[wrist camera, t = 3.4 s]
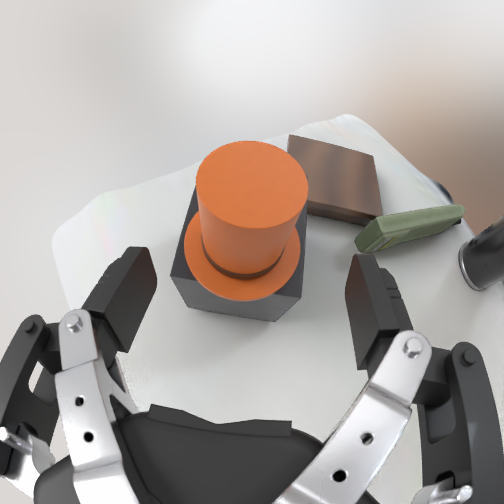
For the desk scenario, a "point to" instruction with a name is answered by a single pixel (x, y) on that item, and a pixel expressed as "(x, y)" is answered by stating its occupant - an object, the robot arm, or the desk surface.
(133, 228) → the desk surface
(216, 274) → the hat
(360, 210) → the stand
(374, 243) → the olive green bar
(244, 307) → the dark grey cube pedestal
